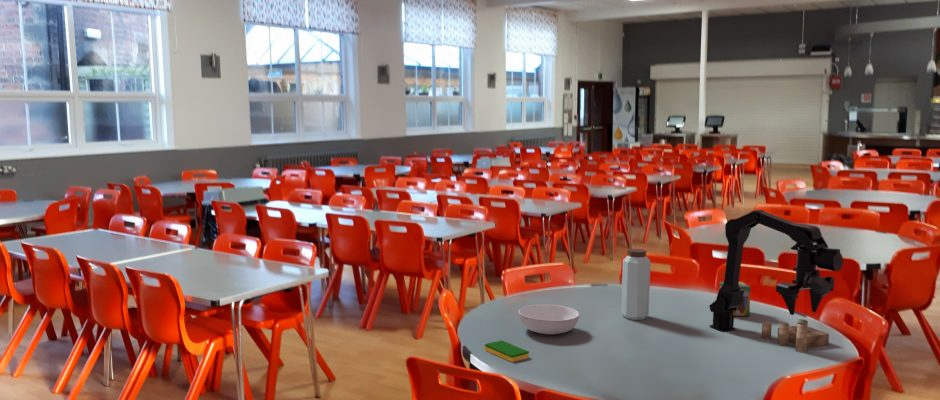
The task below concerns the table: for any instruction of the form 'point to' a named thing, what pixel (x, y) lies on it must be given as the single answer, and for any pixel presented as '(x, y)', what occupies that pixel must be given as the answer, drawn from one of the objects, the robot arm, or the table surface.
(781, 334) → the dowel medium
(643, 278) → the water bottle
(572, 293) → the table surface
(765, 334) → the dowel short
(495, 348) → the dish sponge
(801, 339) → the dowel long
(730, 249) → the robot arm
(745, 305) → the chalk box
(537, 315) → the serving bowl
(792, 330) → the brown slab
